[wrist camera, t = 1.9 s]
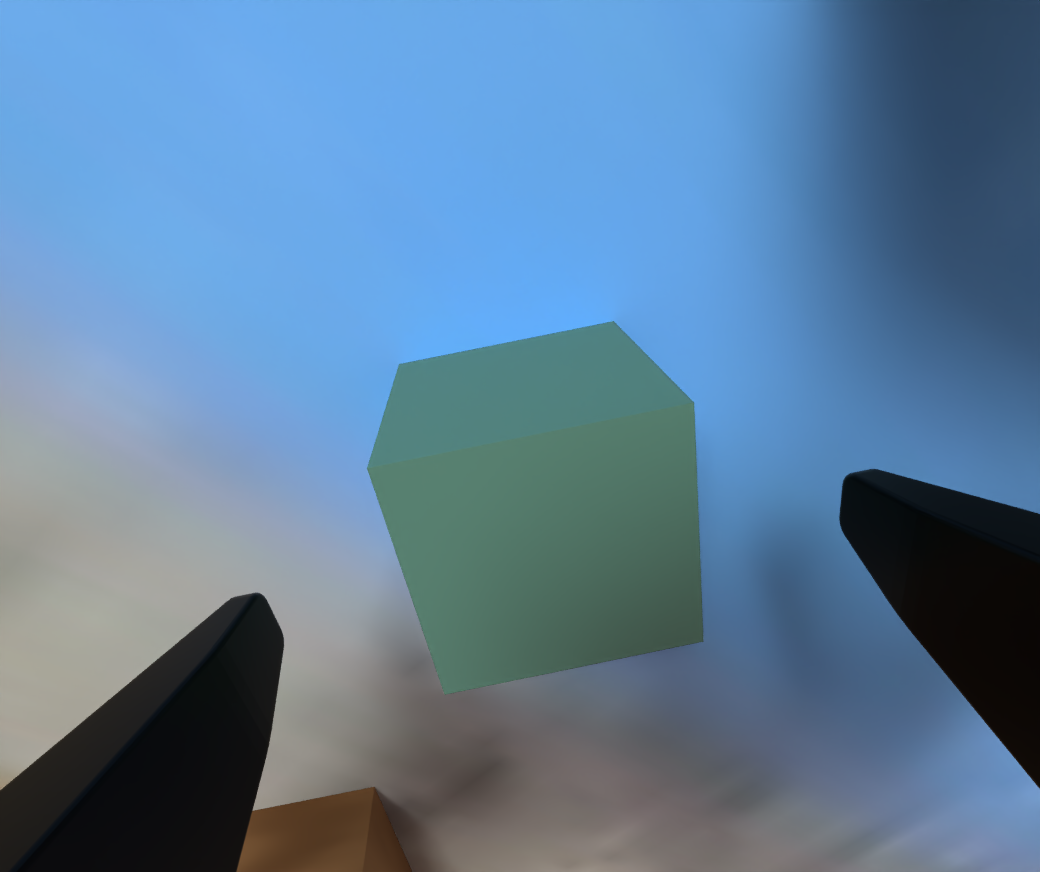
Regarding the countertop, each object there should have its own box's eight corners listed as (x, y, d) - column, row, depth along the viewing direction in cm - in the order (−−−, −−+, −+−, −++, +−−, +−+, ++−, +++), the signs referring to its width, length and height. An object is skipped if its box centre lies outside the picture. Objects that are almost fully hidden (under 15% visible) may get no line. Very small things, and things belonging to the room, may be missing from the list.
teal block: (612, 320, 12) (693, 402, 8) (631, 500, 14) (703, 641, 10) (399, 362, 12) (367, 468, 8) (449, 537, 14) (444, 694, 10)
